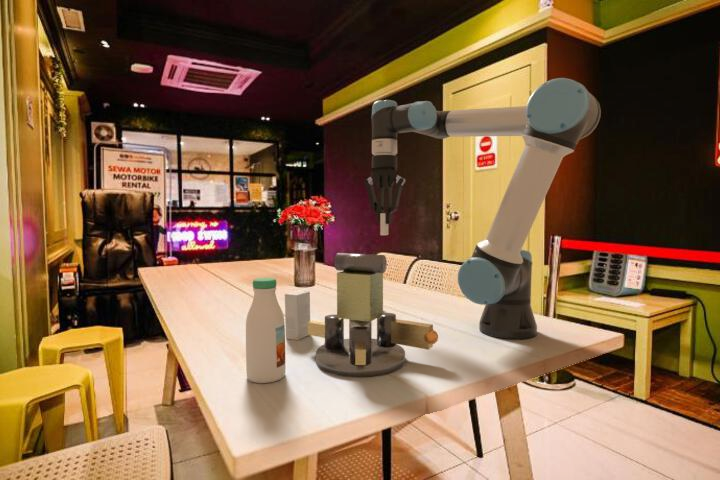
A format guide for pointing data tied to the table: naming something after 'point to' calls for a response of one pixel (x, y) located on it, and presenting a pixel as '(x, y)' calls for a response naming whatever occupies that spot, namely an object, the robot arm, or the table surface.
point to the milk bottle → (265, 334)
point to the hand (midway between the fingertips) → (384, 235)
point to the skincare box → (297, 314)
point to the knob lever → (404, 333)
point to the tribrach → (356, 321)
